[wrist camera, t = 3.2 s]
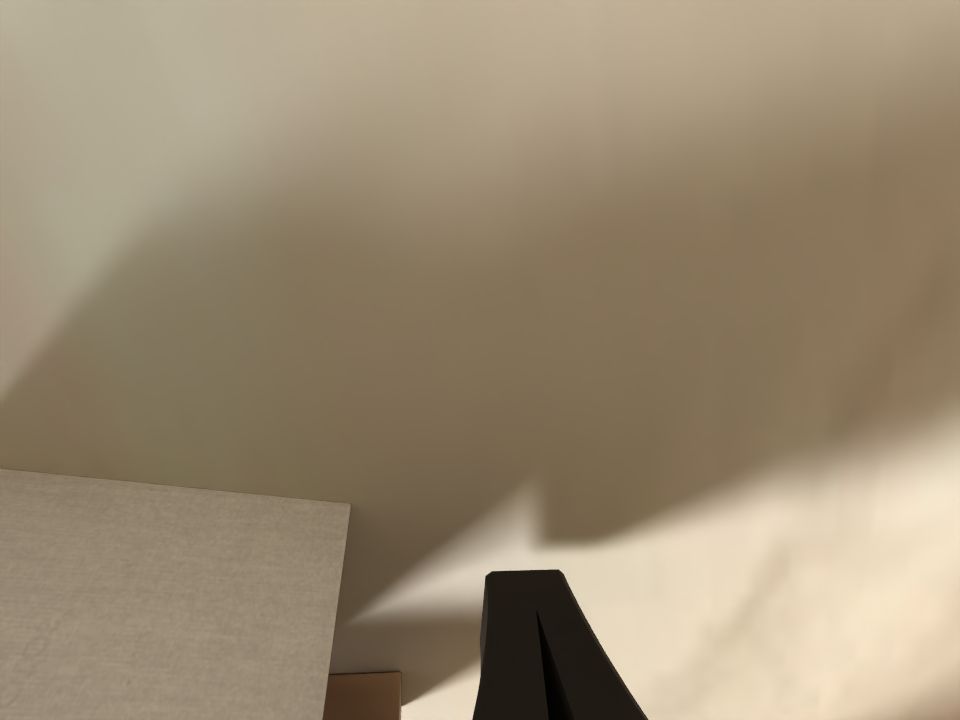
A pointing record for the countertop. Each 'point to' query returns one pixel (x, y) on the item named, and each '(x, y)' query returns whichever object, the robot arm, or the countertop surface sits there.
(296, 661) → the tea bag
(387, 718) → the brown block
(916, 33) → the countertop surface
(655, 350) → the countertop surface
